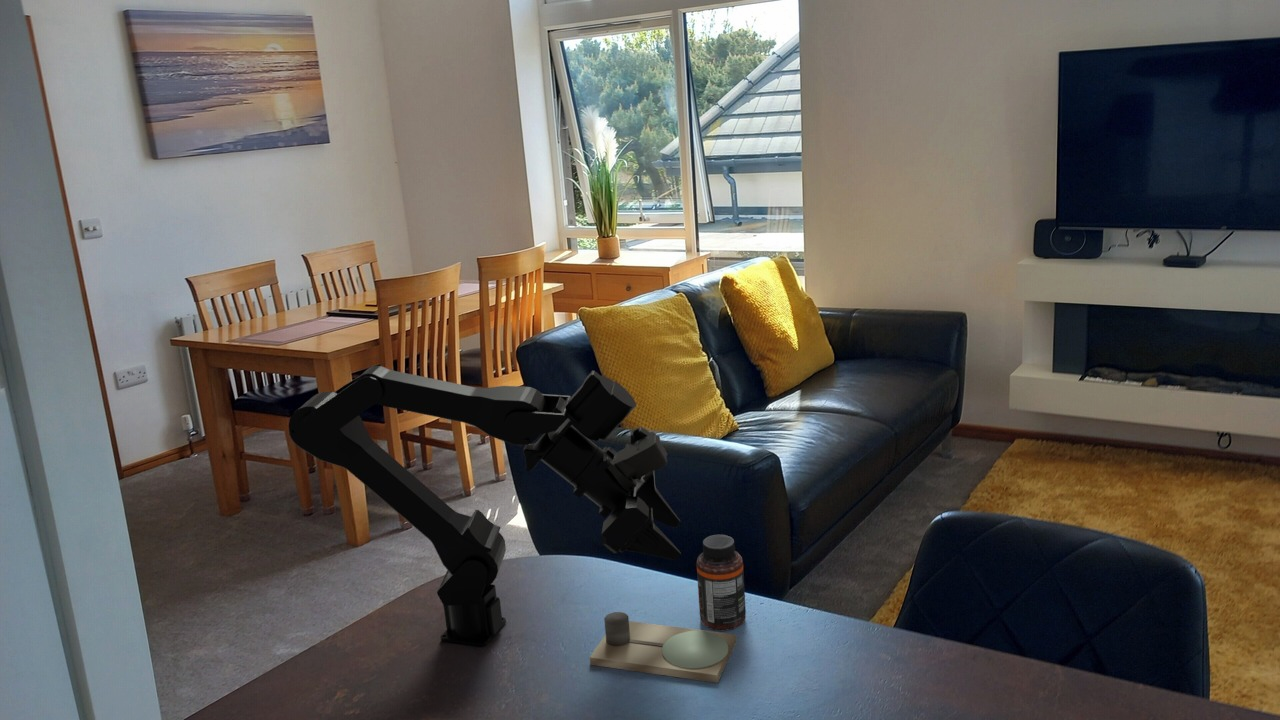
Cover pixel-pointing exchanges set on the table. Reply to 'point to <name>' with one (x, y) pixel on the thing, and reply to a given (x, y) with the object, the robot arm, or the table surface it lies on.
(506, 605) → the table surface
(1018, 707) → the table surface
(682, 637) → the pad
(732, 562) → the supplement bottle
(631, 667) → the board
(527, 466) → the robot arm
